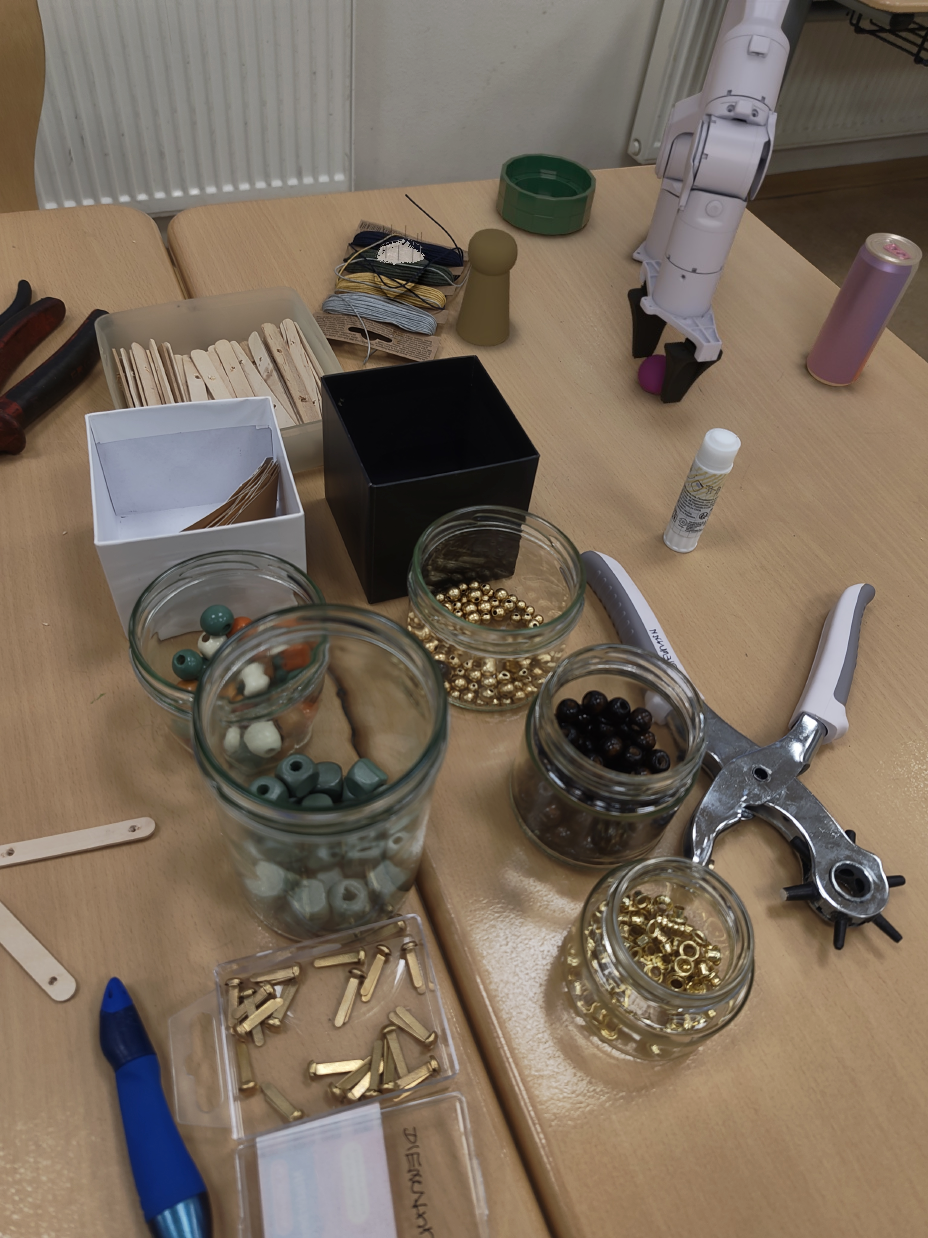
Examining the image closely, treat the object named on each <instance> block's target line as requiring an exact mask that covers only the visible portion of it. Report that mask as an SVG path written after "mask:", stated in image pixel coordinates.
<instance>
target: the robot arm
mask: <svg viewBox="0 0 928 1238" xmlns="http://www.w3.org/2000/svg"><path fill="white" fill-rule="evenodd" d="M790 1H791V0H728V1H727V4H726V7H725V9H724V14H723V18H722V20H721V24H720V28H719V32H718V35H717V38H716V40H715V41H716V42H715V45H714V48H713V51H712V55H711V58H710V61H709V64H708V65H709V66H708V68H707V72H706V75H705V79H704V82H703V86H702V89H701V91H700V92H698V93H696V94H693V95H691V96H688V97H686V98H683V99H680V100H678V101H677V102H676V103H675V104H674V107H672V108H671V110H670V112H669V113H670V114H669V117H668V121H667V122H666V124H665V128H664V130H663V134H662V138H661V141H660V145H659V149H658V154H657V157H656V162H655V167H654V171H653V172H654V175H655V176H656V179H657V180H661V184H660V188H659V192H658V196H657V200H656V203H655V208H654V210H653V214H652V217H651V221H650V226H649V229H648V232H647V236H646V239H645V240H644V241H642V243H641V244H640V245H639V246H638V248H637V249H636V250H635V251H634V252H633V253H632V256H631V257H632V259H634V260H636V261H639V262H642V263H641V266H640V271H639V275H638V279H639V281H640V282H641V283H642V285H640V287H634V288H630V289H629V290H628V291H627V301H628V303H629V308H630V312H631V313H630V314H631V323H632V326H631V327H632V328H631V329H632V333H631V334H632V335H631V337H632V338H631V356H632V357H633V359H634V360H636V359H637V360H639V359H646V358H648V357H649V356H652V355H654V354H655V352H656V350H657V348H658V345H659V343H660V340H661V338H662V335H663V333H664V330H665V328H666V326H667V324H668V325H670V326H671V327H673V328H674V329H675V330H677V331H678V332H679V333H681V334H682V335H683V336H685V337H684V340H683V341H674V342H672V341H671V342H664V343H663V349H664V355H665V356H666V369H665V376H664V381H663V385H662V389H661V393H660V401H661V403H662V404H664V405H666V404H667V405H668V404H676V403H681V401H682V400H683V398H684V397H685V395H686V394H687V393H688V391H690V389H691V387H692V386H693V384H694V383H695V382H697V380H698V379H699V378H700V377H701V376H702V374H704V373H705V372H706V371H707V370H709V368H711V367H712V366H713V365H715V364H716V363H718V362H719V361H720V360H721V359H722V356H723V354H724V351H723V349H722V346H723V341H722V340H721V338H720V336H719V334H718V330H717V325H716V319H715V315H714V310H713V309H714V308H713V304H712V302H713V299H714V297H715V294H716V291H717V288H718V285H719V283H720V281H721V277H722V274H723V272H724V268H725V266H726V263H727V260H728V258H729V254H730V253H731V249H732V246H733V244H734V241H735V238H736V235H737V233H738V229H739V226H740V224H741V221H742V218H743V216H744V213H745V211H746V207H747V205H748V202H749V199H750V201H753V200H754V199H755V198H756V196H757V194H758V192H759V190H760V188H761V187H762V185H763V182H764V179H765V178H766V174H767V170H768V168H769V165H770V161H771V157H772V155H773V149H774V142H775V135H776V124H777V120H778V119H777V118H778V113H777V112H775V110H776V106H777V102H778V97H779V95H780V90H781V86H782V83H783V78H784V74H785V69H786V66H787V62H788V57H789V54H790V49H791V48H790V46H791V45H790V42H789V39H788V38H787V35H786V34H785V33H784V31H783V29H782V24H783V21H784V18H785V16H786V12H787V9H788V6H789V3H790ZM749 191H750V193H749ZM748 193H749V196H748Z"/></svg>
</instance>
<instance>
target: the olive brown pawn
mask: <svg viewBox="0 0 928 1238" xmlns="http://www.w3.org/2000/svg"><path fill="white" fill-rule="evenodd" d="M468 242H469V243H468V245H467V259H468V261H469V263H470V269H469V272H468V277H467V281H466V284H465V288H464V293H463V297H462V300H461V304H460V309H459V311H458V316H457V320H456V323H455V324H456V325H455V330H456V332H457V335H458V336H459V337H460V338H461V339H462V340H464V341H466V342H467V343H469V344H472V345H475V346H480V347H481V346H483V347H490V346H491V347H493V346H497V345H499V344H503V343H504V342H506V340H508V338H509V336H510V296H511V295H510V290H511V289H510V288H511V286H510V285H511V270H512V269H513V267H514V266H515V265H516V262H517V260H518V256H519V255H518V254H519V251H518V250H519V249H518V244H517V241H516V239H515V238H514V237H513V235H511V234H510V233H508V232H507V231H505V230H503V229H499V228H492V227H491V228H484V229H480V230H478V231H476V232H475V233H474V234H473V236H471V238H470V239H469V241H468Z"/></svg>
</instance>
